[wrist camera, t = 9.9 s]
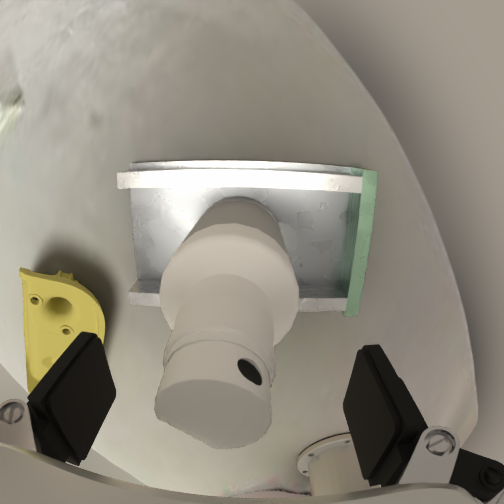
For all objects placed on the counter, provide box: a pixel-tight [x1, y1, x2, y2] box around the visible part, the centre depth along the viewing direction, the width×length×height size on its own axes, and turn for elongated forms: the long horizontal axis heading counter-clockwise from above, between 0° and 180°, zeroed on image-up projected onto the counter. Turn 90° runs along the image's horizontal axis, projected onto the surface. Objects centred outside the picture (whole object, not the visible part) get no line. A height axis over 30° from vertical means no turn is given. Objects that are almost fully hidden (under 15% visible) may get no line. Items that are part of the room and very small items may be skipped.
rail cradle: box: [117, 160, 378, 317], centre depth 24 cm, size 12×19×4 cm, turn 89°
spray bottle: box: [154, 197, 299, 449], centre depth 16 cm, size 7×7×18 cm
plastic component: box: [19, 268, 105, 393], centre depth 27 cm, size 20×7×10 cm
